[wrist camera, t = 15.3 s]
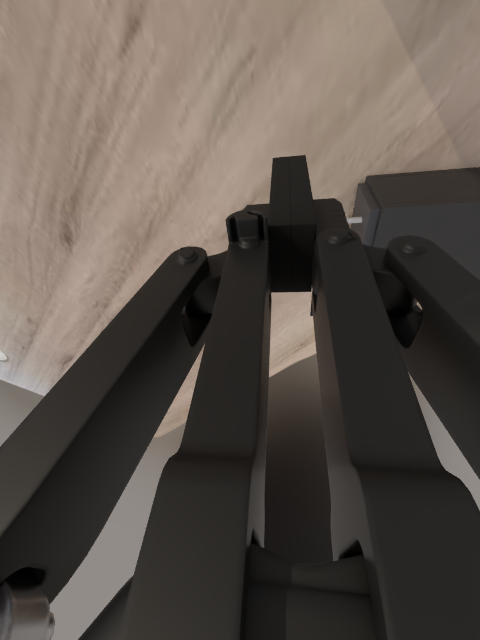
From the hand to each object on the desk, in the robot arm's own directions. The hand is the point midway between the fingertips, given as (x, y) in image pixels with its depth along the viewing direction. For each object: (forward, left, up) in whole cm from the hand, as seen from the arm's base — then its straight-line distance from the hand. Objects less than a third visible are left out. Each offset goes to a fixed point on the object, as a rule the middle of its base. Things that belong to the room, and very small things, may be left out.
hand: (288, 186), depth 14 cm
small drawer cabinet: (+21, +16, -30) cm, 40 cm away
